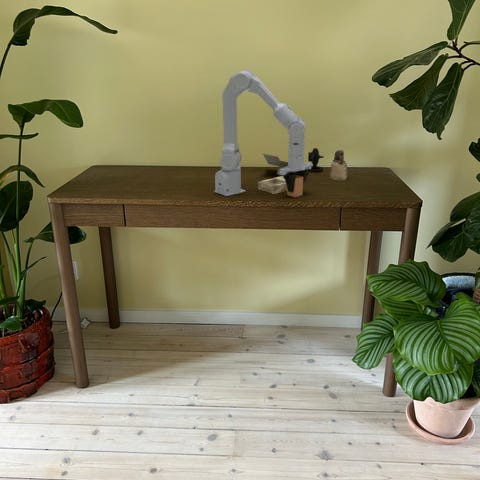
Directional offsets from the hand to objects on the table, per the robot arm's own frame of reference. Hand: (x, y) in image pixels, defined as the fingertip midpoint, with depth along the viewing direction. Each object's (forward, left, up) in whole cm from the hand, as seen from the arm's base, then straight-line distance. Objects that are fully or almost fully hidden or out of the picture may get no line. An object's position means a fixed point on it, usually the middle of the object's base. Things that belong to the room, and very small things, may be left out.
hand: (295, 190), depth 180 cm
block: (0, 0, -2) cm, 2 cm away
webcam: (+34, +21, -2) cm, 40 cm away
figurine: (+31, +5, -2) cm, 31 cm away
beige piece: (+2, +10, -2) cm, 11 cm away
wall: (+19, +24, -2) cm, 31 cm away
